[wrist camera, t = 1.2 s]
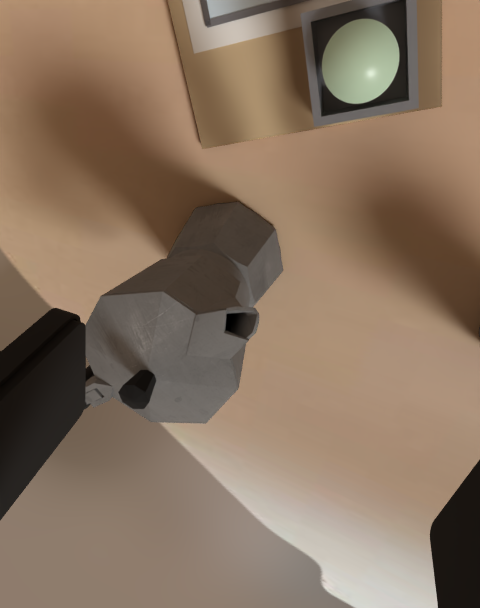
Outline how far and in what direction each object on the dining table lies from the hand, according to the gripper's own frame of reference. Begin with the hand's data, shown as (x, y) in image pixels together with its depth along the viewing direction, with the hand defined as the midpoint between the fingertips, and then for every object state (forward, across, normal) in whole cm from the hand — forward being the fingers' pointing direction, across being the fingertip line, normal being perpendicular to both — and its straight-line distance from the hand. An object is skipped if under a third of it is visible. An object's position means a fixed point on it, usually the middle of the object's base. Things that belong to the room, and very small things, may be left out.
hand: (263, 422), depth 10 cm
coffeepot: (+26, +7, +10) cm, 28 cm away
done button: (+23, 0, -7) cm, 24 cm away
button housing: (+25, 0, -7) cm, 26 cm away
